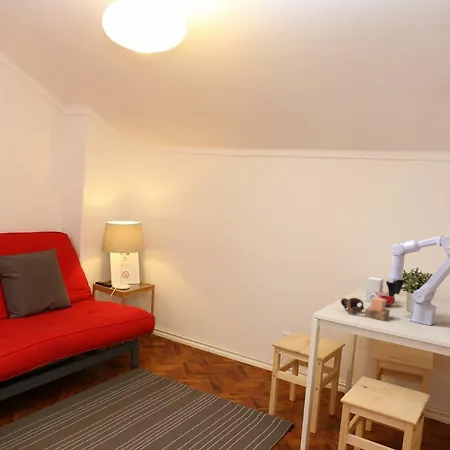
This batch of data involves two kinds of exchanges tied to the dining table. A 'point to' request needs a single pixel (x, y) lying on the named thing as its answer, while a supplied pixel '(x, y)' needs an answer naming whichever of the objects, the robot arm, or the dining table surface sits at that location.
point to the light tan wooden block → (377, 314)
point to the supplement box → (373, 287)
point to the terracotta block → (378, 304)
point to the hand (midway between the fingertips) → (394, 295)
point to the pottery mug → (352, 305)
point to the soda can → (383, 297)
